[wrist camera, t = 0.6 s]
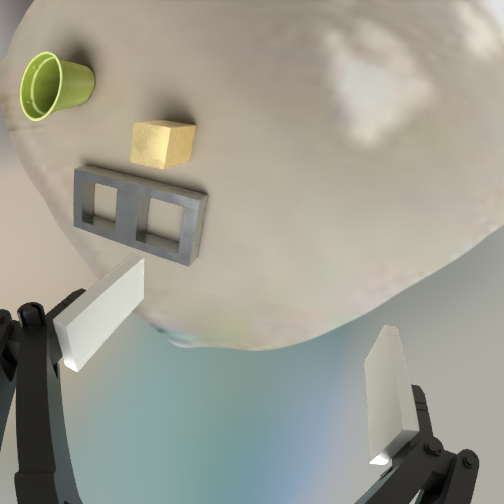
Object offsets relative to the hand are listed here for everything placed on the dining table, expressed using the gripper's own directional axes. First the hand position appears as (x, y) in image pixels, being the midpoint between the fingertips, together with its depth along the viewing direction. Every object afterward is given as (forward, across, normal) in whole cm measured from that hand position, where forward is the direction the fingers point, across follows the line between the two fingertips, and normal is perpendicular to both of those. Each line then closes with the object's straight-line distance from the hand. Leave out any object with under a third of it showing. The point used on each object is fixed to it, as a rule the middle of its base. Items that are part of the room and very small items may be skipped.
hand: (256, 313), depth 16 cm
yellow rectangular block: (+23, -16, +4) cm, 29 cm away
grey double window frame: (+23, -21, -6) cm, 32 cm away
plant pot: (+23, -34, +11) cm, 43 cm away
